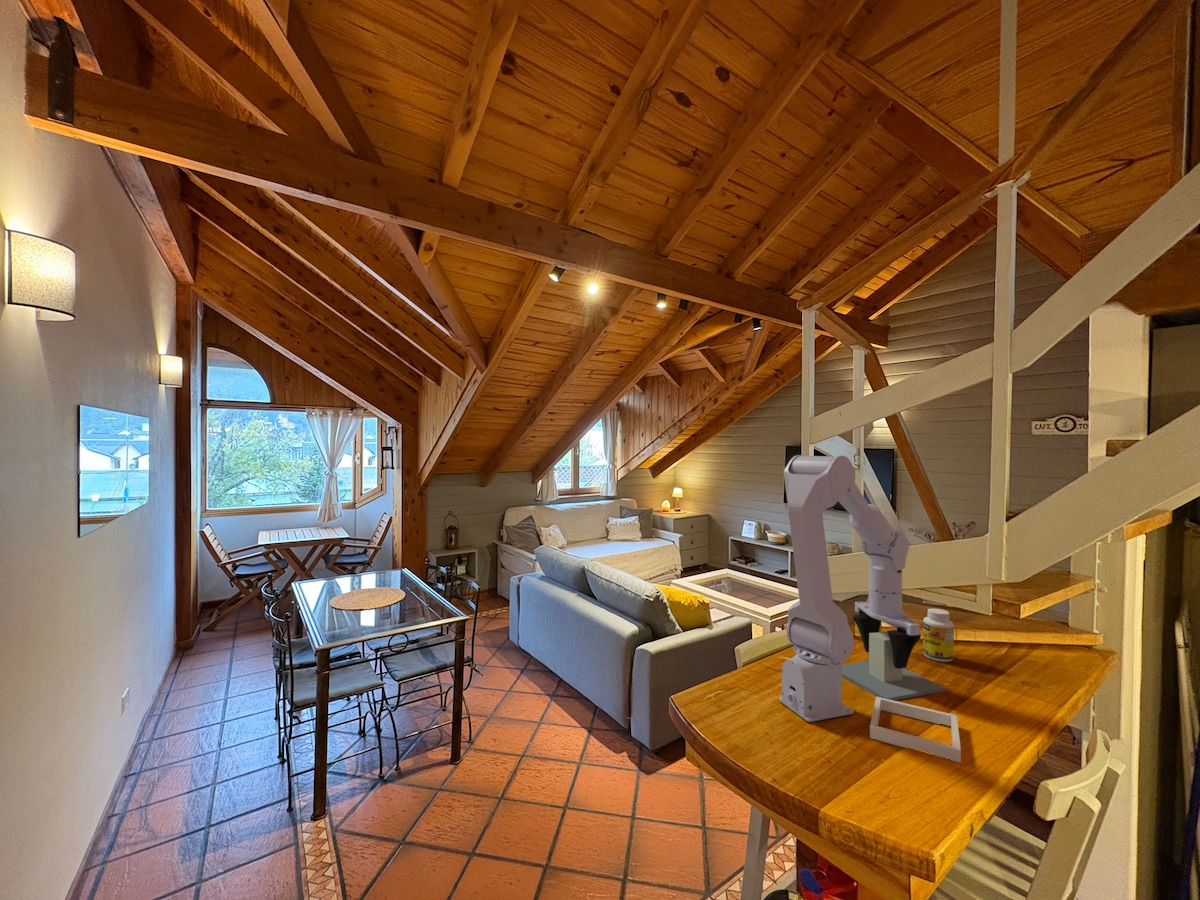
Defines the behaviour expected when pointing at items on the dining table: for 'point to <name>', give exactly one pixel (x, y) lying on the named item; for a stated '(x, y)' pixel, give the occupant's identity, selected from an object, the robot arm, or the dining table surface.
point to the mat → (890, 690)
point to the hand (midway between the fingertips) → (885, 659)
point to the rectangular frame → (910, 740)
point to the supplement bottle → (938, 636)
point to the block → (882, 658)
